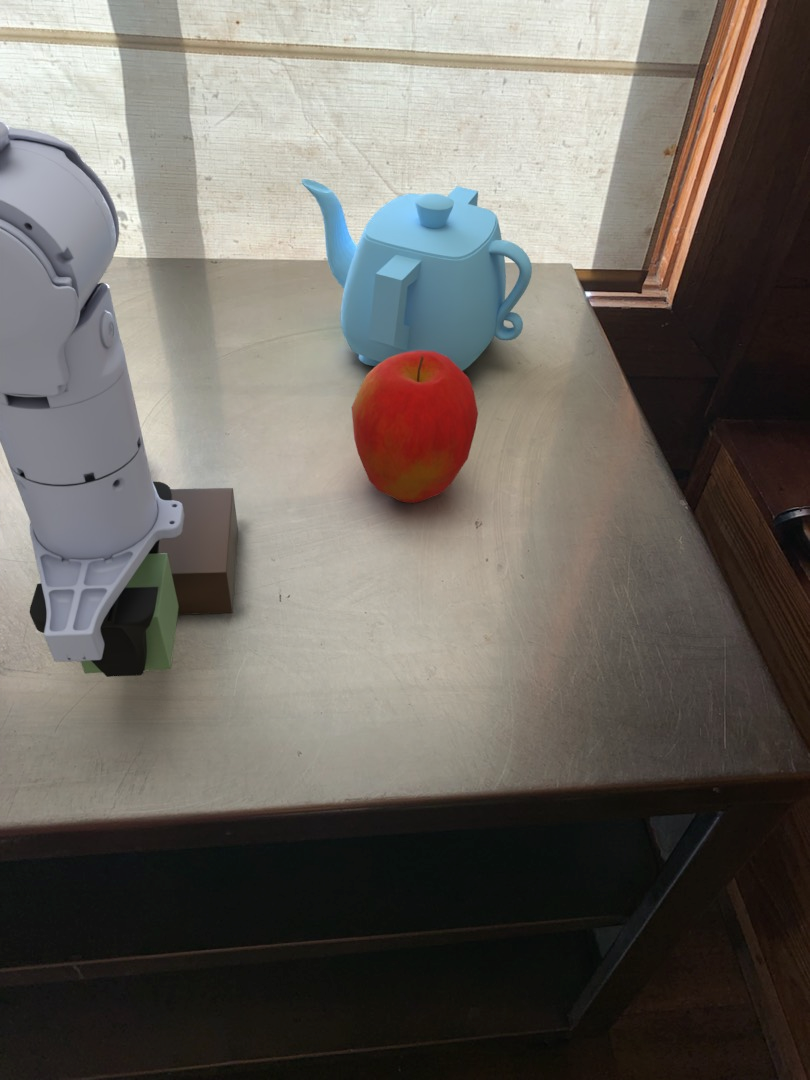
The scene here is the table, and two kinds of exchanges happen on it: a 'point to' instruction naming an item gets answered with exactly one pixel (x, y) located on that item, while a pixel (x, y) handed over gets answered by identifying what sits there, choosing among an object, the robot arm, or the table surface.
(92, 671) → the green block
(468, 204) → the teapot
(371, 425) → the apple
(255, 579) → the table surface
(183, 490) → the walnut base
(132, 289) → the table surface
